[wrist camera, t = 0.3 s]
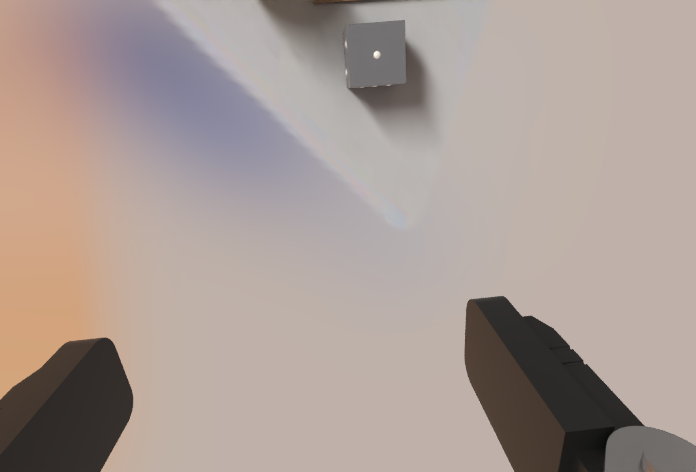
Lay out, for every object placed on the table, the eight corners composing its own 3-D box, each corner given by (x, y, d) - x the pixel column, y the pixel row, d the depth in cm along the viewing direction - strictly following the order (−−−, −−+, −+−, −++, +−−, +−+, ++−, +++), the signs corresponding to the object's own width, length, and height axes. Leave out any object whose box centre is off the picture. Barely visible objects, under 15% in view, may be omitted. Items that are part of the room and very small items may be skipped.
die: (341, 32, 30) (344, 24, 26) (395, 28, 30) (406, 19, 26) (345, 89, 31) (349, 89, 27) (397, 84, 31) (407, 84, 28)
